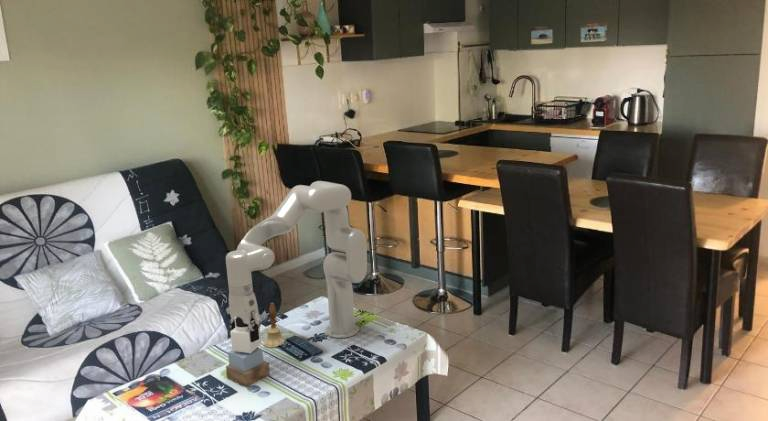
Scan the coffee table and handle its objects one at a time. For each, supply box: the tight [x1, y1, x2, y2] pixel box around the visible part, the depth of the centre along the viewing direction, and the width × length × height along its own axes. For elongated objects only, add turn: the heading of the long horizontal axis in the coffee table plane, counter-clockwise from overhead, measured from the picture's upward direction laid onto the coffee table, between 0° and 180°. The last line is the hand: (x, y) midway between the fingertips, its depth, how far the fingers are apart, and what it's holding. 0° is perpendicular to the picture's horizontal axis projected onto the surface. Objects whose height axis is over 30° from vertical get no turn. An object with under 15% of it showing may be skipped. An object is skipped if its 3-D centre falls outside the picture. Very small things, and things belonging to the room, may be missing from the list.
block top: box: [227, 346, 264, 372], centre depth 220 cm, size 8×8×5 cm
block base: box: [225, 360, 271, 389], centre depth 221 cm, size 10×10×5 cm
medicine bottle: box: [229, 317, 262, 353], centre depth 217 cm, size 7×7×12 cm
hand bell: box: [263, 302, 286, 349], centre depth 243 cm, size 8×8×16 cm
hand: (245, 336), depth 218 cm, fingers closed on medicine bottle, 8 cm apart
